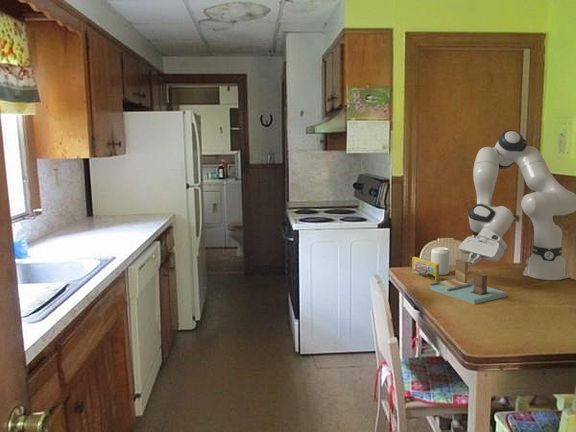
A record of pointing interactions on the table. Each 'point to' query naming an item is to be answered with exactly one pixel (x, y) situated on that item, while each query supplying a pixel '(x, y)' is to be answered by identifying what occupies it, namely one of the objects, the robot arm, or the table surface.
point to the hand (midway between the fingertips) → (470, 263)
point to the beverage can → (441, 259)
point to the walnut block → (480, 284)
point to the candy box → (425, 269)
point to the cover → (458, 275)
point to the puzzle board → (467, 292)
